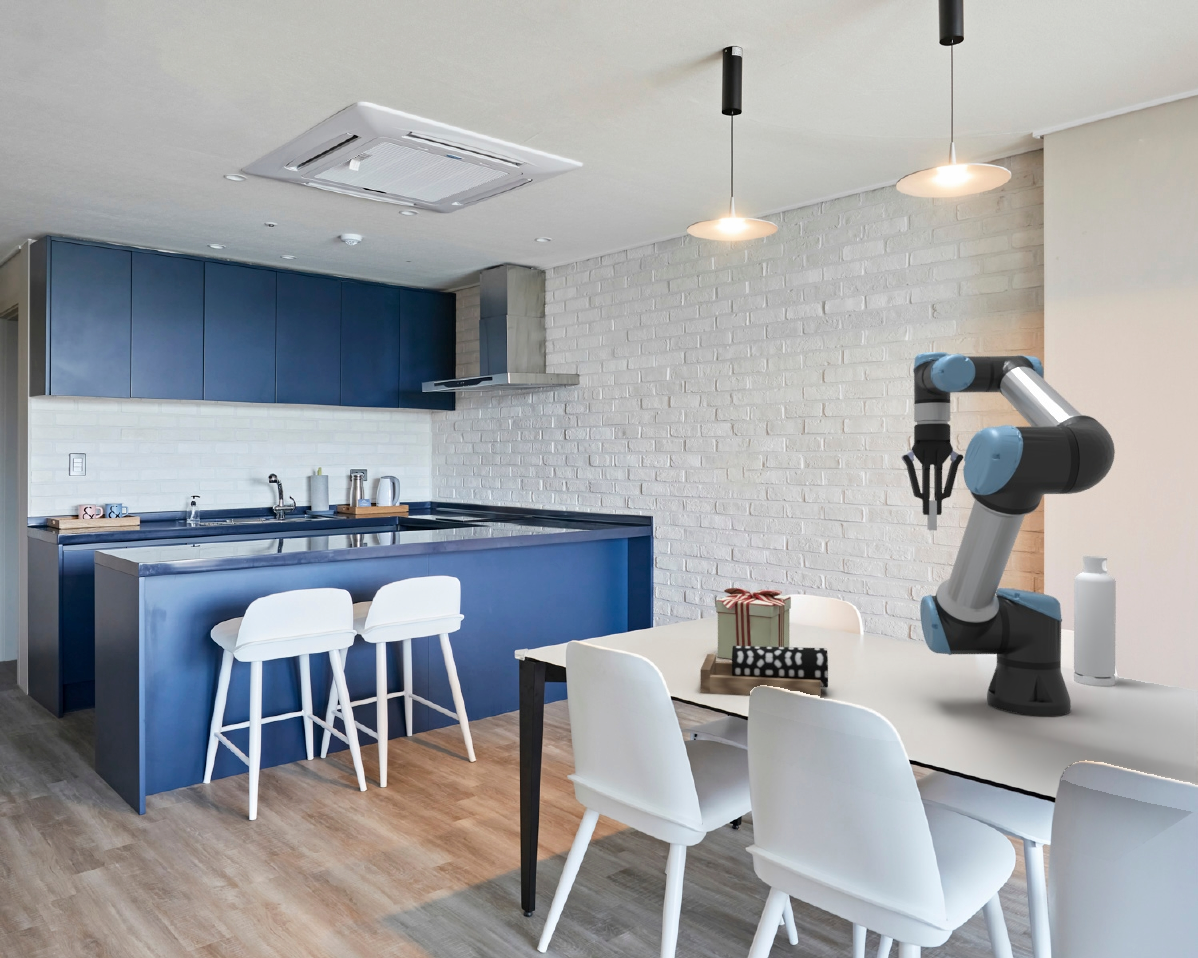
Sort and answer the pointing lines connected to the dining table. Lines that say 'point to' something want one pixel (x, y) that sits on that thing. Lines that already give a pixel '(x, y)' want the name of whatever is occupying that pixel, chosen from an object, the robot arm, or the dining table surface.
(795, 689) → the cradle
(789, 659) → the spotted tube
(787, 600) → the gift box
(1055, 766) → the dining table surface
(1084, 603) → the bottle
